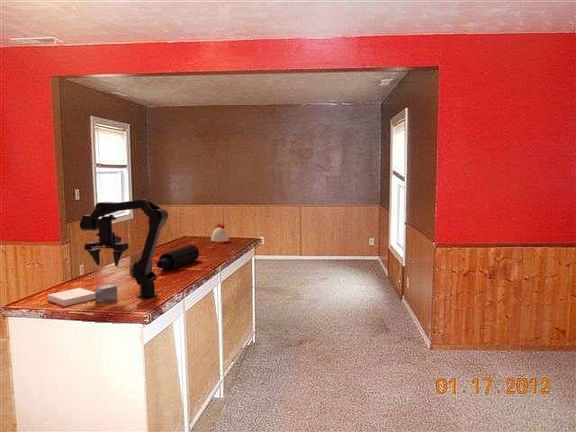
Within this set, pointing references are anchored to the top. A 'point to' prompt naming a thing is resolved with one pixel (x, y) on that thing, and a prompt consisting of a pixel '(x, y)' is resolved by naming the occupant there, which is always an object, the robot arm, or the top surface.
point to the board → (71, 296)
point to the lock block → (106, 293)
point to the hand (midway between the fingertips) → (107, 265)
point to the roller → (178, 257)
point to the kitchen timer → (219, 234)
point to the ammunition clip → (134, 259)
